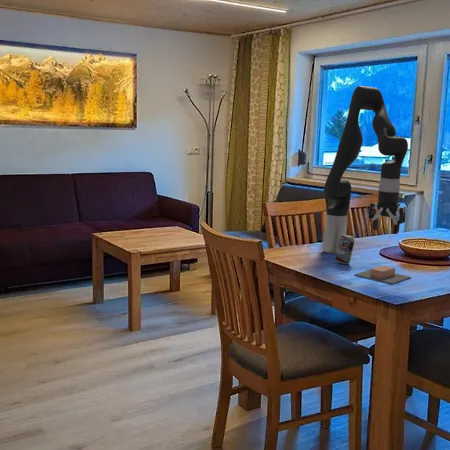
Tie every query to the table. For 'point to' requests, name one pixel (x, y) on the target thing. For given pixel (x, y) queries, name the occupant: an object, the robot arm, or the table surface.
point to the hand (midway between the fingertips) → (385, 232)
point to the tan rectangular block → (382, 272)
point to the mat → (389, 280)
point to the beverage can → (345, 249)
